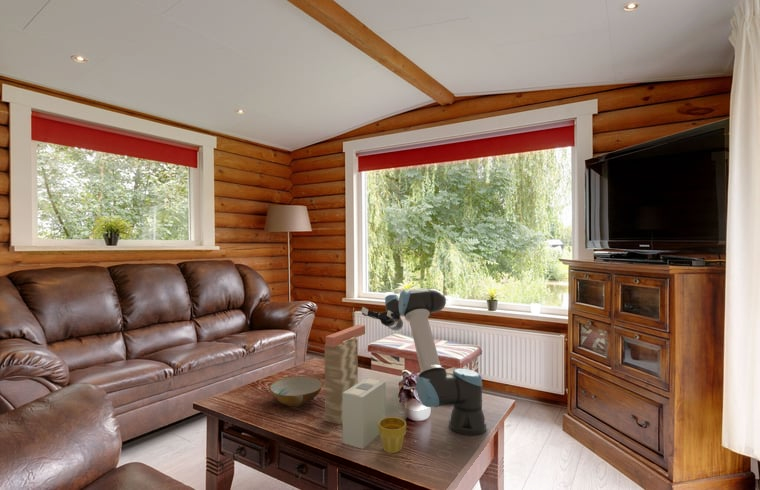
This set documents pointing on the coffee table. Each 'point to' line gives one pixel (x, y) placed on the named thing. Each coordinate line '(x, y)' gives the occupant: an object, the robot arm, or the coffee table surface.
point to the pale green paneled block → (363, 412)
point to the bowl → (296, 390)
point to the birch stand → (339, 377)
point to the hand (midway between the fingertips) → (375, 311)
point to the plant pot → (392, 433)
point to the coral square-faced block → (344, 335)
